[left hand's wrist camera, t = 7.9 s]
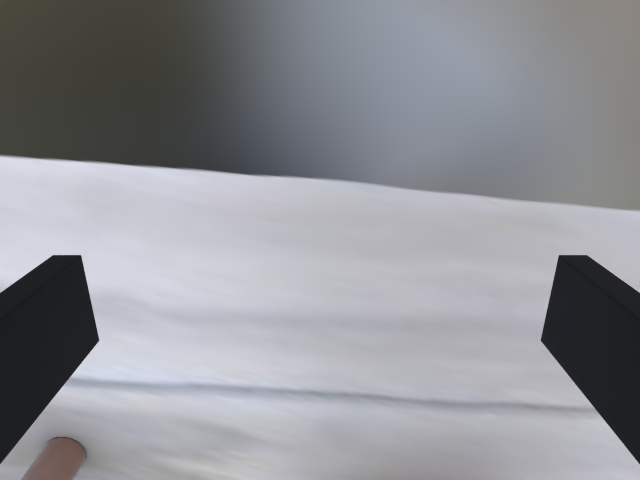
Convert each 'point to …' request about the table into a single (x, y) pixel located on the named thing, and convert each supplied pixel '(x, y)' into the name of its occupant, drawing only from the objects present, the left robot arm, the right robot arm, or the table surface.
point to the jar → (57, 461)
